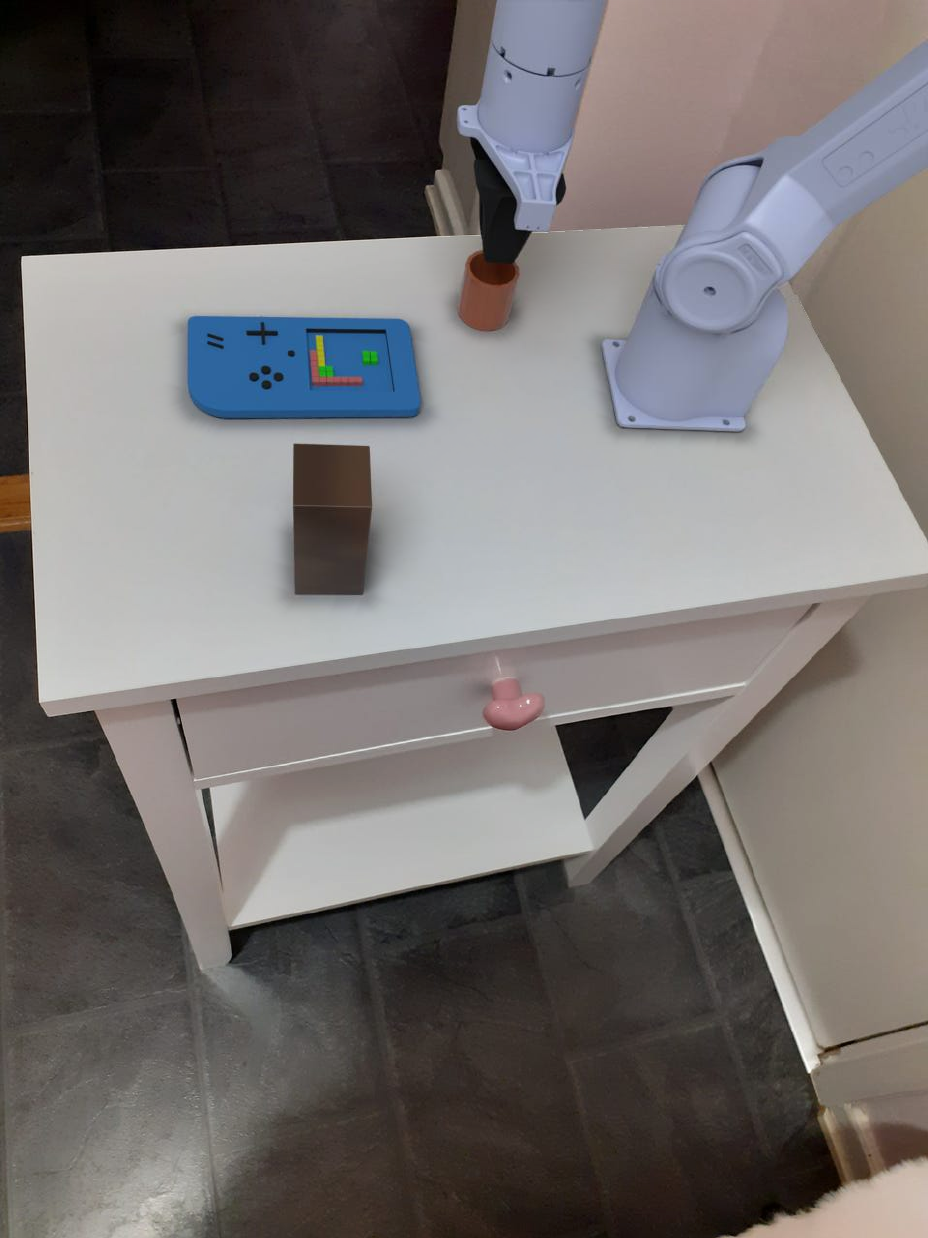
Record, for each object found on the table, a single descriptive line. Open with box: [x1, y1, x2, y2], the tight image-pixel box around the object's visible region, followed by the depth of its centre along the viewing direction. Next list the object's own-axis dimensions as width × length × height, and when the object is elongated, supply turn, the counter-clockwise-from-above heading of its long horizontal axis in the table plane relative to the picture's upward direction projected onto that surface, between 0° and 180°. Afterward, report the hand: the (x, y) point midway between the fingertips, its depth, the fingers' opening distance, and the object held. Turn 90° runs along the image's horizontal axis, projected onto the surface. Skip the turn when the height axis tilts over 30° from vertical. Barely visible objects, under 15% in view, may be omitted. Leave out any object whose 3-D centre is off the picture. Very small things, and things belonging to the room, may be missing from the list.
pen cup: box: [457, 249, 521, 332], centre depth 66 cm, size 4×4×4 cm
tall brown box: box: [292, 443, 373, 596], centre depth 52 cm, size 4×4×9 cm
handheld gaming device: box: [187, 315, 422, 419], centre depth 62 cm, size 8×1×15 cm
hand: (497, 248), depth 63 cm, fingers closed
